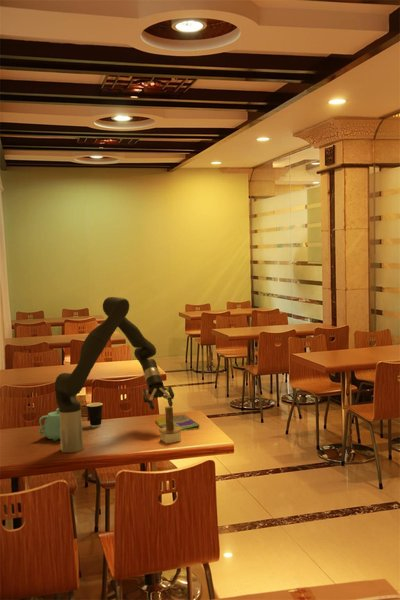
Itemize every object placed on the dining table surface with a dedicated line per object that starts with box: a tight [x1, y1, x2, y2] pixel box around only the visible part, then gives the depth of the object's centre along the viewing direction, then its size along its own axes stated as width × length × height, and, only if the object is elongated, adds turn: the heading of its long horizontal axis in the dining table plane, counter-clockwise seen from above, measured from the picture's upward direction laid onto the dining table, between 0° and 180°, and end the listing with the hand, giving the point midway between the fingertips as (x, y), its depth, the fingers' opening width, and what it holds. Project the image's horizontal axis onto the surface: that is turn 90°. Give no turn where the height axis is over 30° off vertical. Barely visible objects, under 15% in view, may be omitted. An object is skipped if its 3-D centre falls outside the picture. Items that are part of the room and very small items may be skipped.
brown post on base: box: [159, 405, 182, 434], centre depth 278 cm, size 10×10×11 cm
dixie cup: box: [86, 402, 103, 428], centre depth 311 cm, size 8×8×11 cm
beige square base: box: [160, 431, 182, 444], centre depth 278 cm, size 7×7×4 cm
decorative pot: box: [38, 407, 60, 442], centre depth 293 cm, size 16×16×14 cm
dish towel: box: [155, 413, 200, 432], centre depth 305 cm, size 18×24×3 cm
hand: (162, 407), depth 287 cm, fingers open, 8 cm apart
